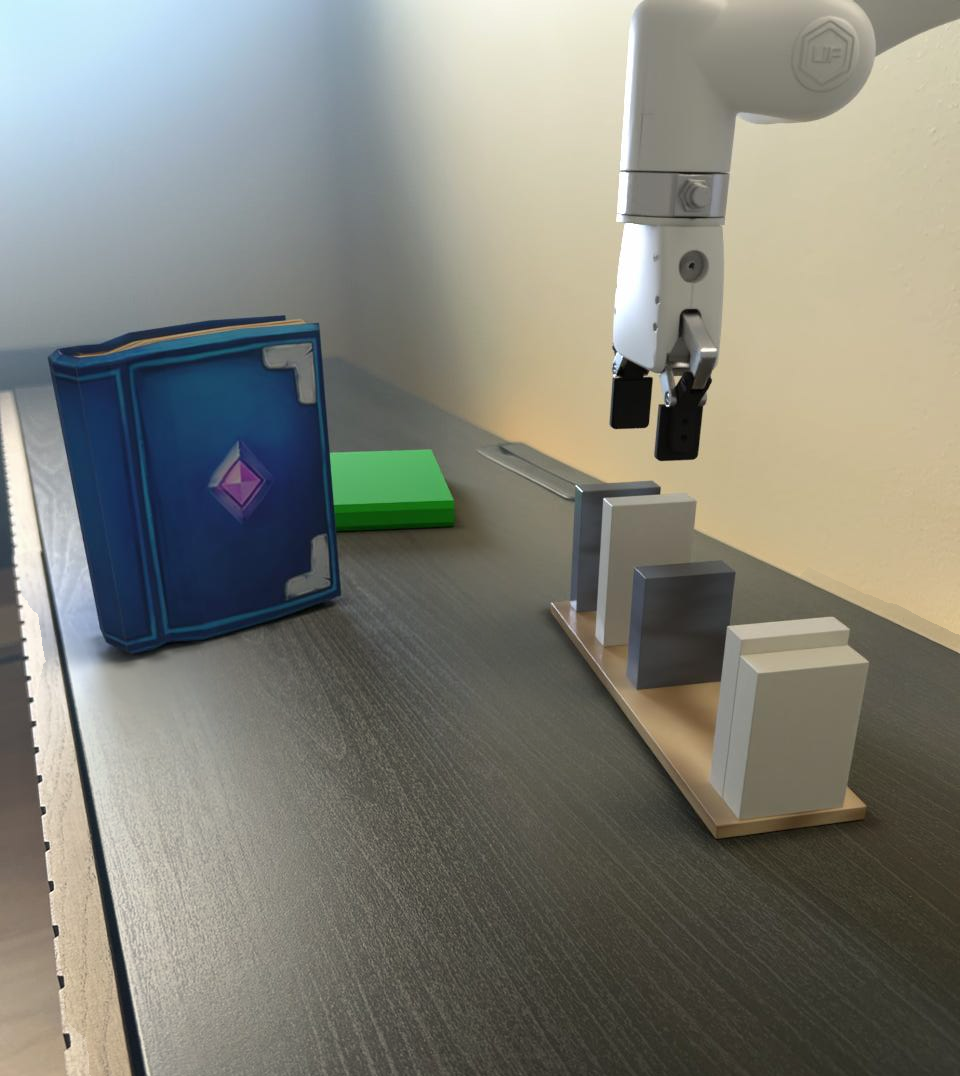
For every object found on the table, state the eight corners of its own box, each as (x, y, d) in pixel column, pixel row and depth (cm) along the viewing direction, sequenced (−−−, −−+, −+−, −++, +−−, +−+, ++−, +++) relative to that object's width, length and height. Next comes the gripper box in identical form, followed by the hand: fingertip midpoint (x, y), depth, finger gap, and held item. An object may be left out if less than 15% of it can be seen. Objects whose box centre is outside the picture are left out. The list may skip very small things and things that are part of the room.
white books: (808, 770, 69) (833, 616, 65) (843, 807, 65) (872, 646, 61) (708, 782, 68) (726, 625, 63) (739, 820, 64) (760, 656, 59)
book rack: (655, 603, 97) (665, 476, 92) (864, 819, 66) (898, 645, 61) (550, 612, 95) (555, 483, 90) (715, 839, 64) (737, 661, 59)
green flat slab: (208, 480, 133) (206, 456, 131) (431, 472, 137) (431, 449, 135) (192, 539, 112) (189, 512, 111) (454, 527, 116) (454, 501, 115)
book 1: (116, 669, 84) (67, 348, 74) (83, 640, 89) (32, 335, 79) (346, 603, 97) (332, 320, 86) (306, 581, 102) (287, 311, 91)
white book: (673, 629, 90) (686, 492, 85) (683, 640, 88) (697, 500, 83) (594, 636, 88) (602, 497, 83) (603, 647, 86) (612, 506, 81)
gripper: (779, 208, 67) (746, 471, 74) (674, 196, 82) (655, 416, 89) (668, 206, 65) (645, 476, 73) (582, 195, 81) (570, 419, 88)
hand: (651, 442), depth 81 cm, fingers open, 9 cm apart
